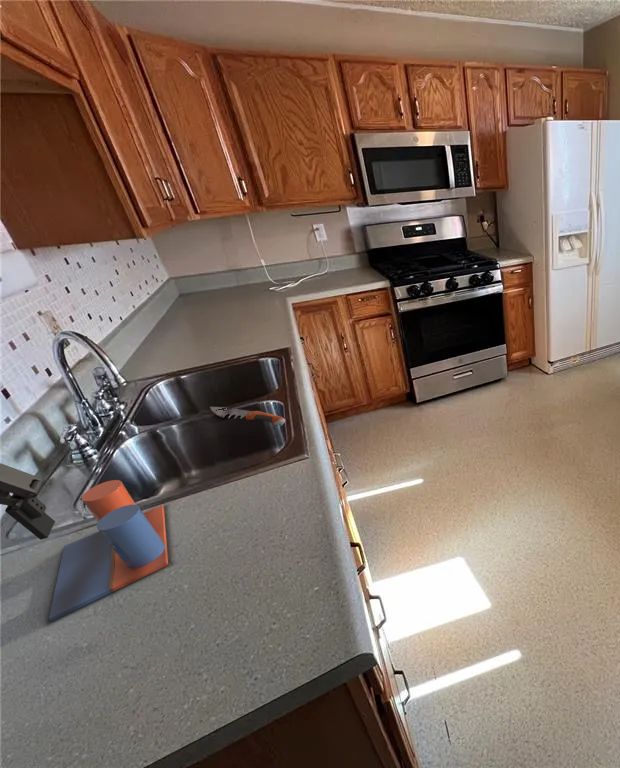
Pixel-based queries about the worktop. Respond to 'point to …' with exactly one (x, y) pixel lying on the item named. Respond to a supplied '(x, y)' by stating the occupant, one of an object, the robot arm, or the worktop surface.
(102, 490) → the orange canister
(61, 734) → the worktop surface
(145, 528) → the blue canister
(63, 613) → the sorting board
